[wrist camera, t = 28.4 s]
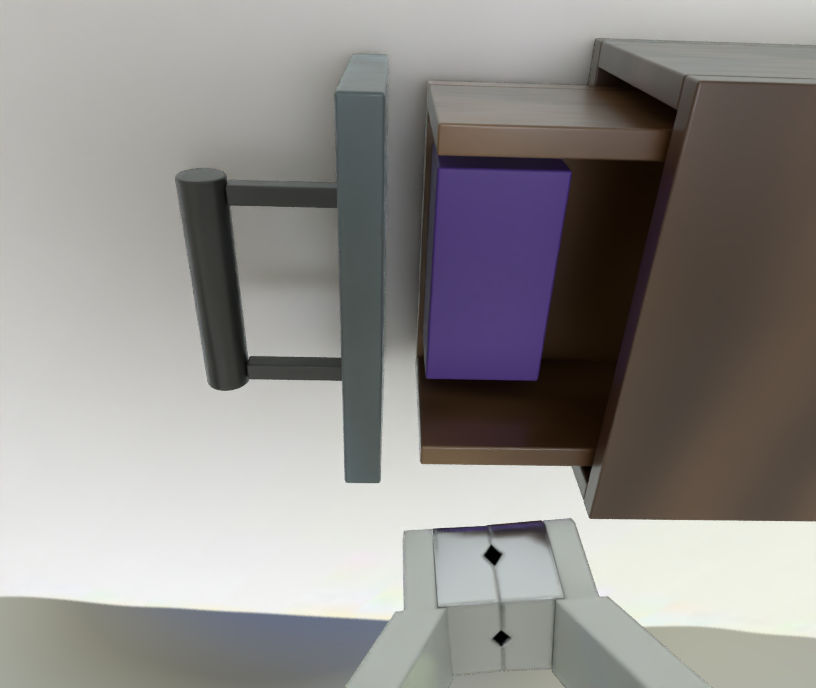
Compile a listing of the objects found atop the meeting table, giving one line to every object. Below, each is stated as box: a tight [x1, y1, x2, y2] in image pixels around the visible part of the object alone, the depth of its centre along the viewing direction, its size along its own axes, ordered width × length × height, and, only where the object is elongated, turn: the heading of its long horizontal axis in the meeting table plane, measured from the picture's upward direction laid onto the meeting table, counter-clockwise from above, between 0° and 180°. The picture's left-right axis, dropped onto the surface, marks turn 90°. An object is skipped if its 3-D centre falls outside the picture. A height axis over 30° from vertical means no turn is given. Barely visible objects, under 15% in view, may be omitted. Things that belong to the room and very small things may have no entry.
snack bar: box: [423, 143, 572, 381], centre depth 22 cm, size 4×8×3 cm, turn 178°
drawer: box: [175, 54, 678, 483], centre depth 21 cm, size 17×12×7 cm
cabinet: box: [572, 38, 816, 521], centre depth 21 cm, size 14×14×9 cm
